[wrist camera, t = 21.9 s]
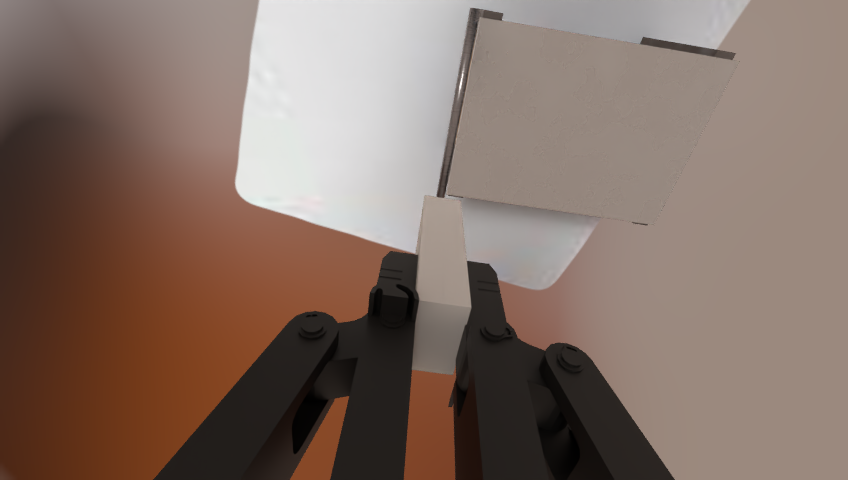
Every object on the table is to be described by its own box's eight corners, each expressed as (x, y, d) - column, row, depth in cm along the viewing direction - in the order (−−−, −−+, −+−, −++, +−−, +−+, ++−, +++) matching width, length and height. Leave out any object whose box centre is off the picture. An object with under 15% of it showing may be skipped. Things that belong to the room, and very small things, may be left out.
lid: (469, 7, 30) (470, 7, 29) (736, 53, 31) (743, 54, 30) (436, 194, 38) (436, 197, 38) (647, 225, 39) (651, 229, 39)
